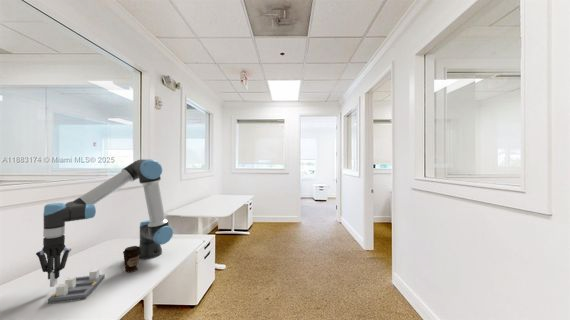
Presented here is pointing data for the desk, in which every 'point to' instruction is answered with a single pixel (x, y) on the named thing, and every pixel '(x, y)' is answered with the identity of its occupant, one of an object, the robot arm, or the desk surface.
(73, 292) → the switch board
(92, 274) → the tab
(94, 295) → the desk surface
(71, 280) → the tab
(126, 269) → the coffee cup
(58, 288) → the tab
